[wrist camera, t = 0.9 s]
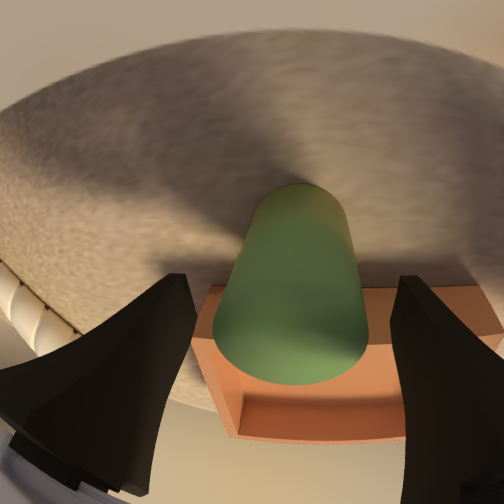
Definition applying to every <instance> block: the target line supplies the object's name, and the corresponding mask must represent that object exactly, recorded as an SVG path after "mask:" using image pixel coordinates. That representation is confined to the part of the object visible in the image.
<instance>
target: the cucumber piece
mask: <svg viewBox="0 0 504 504" xmlns="http://www.w3.org/2000/svg"><path fill="white" fill-rule="evenodd" d="M212 332H213V337H214V340H215V343H216V345H217V347H218V349H219V351H220V352H221V353H222V355H223V356H224V357H225V358H226V359H227V360H228V361H229V362H230V363H231V364H232V365H234V366H235V367H236V368H238V369H239V370H241V371H242V372H244V373H246V374H248V375H250V376H252V377H255V378H257V379H260V380H263V381H266V382H271V383H275V384H281V385H309V384H316V383H320V382H324V381H327V380H330V379H333V378H335V377H337V376H340V375H341V374H343V373H345V372H346V371H348V370H349V369H350V368H352V367H353V366H354V365H355V364H356V363H357V362H358V361H359V360H360V358H361V357H362V356H363V354H364V352H365V351H366V348H367V345H368V341H369V327H368V321H367V315H366V309H365V303H364V297H363V292H362V287H361V281H360V276H359V271H358V266H357V262H356V257H355V252H354V248H353V243H352V239H351V235H350V230H349V226H348V222H347V218H346V215H345V212H344V210H343V208H342V206H341V205H340V203H339V202H338V201H337V200H336V199H335V197H333V196H332V195H331V194H330V193H328V192H327V191H325V190H323V189H321V188H319V187H316V186H313V185H308V184H290V185H286V186H283V187H280V188H278V189H276V190H274V191H272V192H271V193H270V194H268V195H267V196H266V197H265V198H264V199H263V200H262V201H261V203H260V204H259V206H258V208H257V210H256V212H255V215H254V217H253V220H252V222H251V225H250V227H249V230H248V232H247V235H246V237H245V240H244V242H243V245H242V248H241V250H240V253H239V255H238V258H237V260H236V263H235V265H234V268H233V270H232V273H231V275H230V278H229V280H228V283H227V286H226V288H225V291H224V293H223V296H222V298H221V301H220V303H219V306H218V309H217V311H216V314H215V316H214V320H213V325H212Z"/></svg>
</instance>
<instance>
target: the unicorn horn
mask: <svg viewBox="0 0 504 504" xmlns="http://www.w3.org/2000/svg"><path fill="white" fill-rule="evenodd" d="M0 308H1V309H2V311H3V312H4V313H5V315H6V316H7V318H8V319H9V320H10V321H11V322H12V324H13V326H14V327H15V328H16V329H17V331H18V332H19V334H20V335H21V336H22V337H23V339H24V340H25V341H26V342H27V344H28V345H29V346H30V347H31V348H32V349H33V350H34V351H35V353H36V354H37V355H38V357H41V356H43V355H45V354H48V353H50V352H52V351H54V350H56V349H58V348H60V347H62V346H64V345H66V344H68V343H70V342H72V341H74V340H76V339H77V338H79V337H81V336H82V335H80V334H79V333H76V334H75V333H74V332H73V328H72V327H70V326H69V325H68V324H67V323H66V322H64V321H63V320H62V319H61V318H60V317H59V316H57V315H56V314H55V313H54V312H53V311H52V310H51V309H48V310H47V309H46V308H45V304H44V303H43V302H42V301H41V300H40V299H39V298H38V297H36V296H35V295H34V294H33V293H32V292H31V291H30V290H29V289H28V288H27V287H26V286H25V285H23V286H22V285H21V284H20V280H19V279H18V278H17V277H16V276H15V275H14V274H13V273H12V272H11V271H10V270H9V269H8V268H7V267H6V266H5V264H4V263H3V262H1V263H0Z"/></svg>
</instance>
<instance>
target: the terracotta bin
mask: <svg viewBox="0 0 504 504" xmlns="http://www.w3.org/2000/svg"><path fill="white" fill-rule="evenodd" d="M225 288H226V286H211V288H210V290H209V293H208V295H207V297H206V299H205V301H204V304H203V306H202V308H201V310H200V313H199V315H198V318H197V322H196V326H195V330H194V333H193V337H192V340H191V345H192V348H193V350H194V353H195V356H196V358H197V361H198V364H199V366H200V369H201V371H202V374H203V377H204V379H205V382H206V384H207V387H208V389H209V392H210V394H211V396H212V399H213V401H214V404H215V406H216V408H217V411H218V413H219V415H220V418H221V420H222V422H223V425H224V427H225V429H226V431H227V434H228V436H229V437H231V438H238V439H246V440H255V441H266V442H276V443H291V444H322V445H324V444H325V445H327V444H328V445H330V444H333V445H334V444H365V443H379V442H389V441H400V440H406V433H405V411H404V403H403V397H402V392H401V387H400V382H399V377H398V372H397V367H396V363H395V358H394V354H393V349H392V341H391V332H390V323H389V321H390V317H391V313H392V309H393V305H394V301H395V297H396V293H397V289H398V288H362V292H363V297H364V303H365V309H366V315H367V321H368V327H369V341H368V345H367V348H366V351H365V352H364V354H363V356H362V357H361V358H360V360H359V361H358V362H357V363H356V364H355V365H354V366H353V367H352V368H350V369H349V370H348V371H346V372H345V373H343V374H341V375H340V376H337V377H335V378H333V379H330V380H327V381H324V382H320V383H316V384H309V385H281V384H275V383H271V382H266V381H263V380H260V379H257V378H255V377H252V376H250V375H248V374H246V373H244V372H242V371H241V370H239V369H238V368H236V367H235V366H234V365H232V364H231V363H230V362H229V361H228V360H227V359H226V358H225V357H224V356H223V355H222V353H221V352H220V351H219V349H218V347H217V345H216V343H215V340H214V337H213V332H212V325H213V320H214V316H215V314H216V311H217V309H218V306H219V303H220V301H221V298H222V296H223V293H224V291H225ZM429 288H430V289H431V290H432V291H433V292H434V293H435V294H436V295H437V296H438V297H439V298H440V299H441V300H442V301H443V302H444V303H445V305H446V306H447V307H448V308H449V309H450V310H451V311H452V312H453V313H454V314H455V315H456V316H457V317H458V318H459V319H460V320H461V321H462V322H463V323H464V324H465V325H466V326H467V327H468V328H469V329H470V330H471V331H472V332H473V333H474V334H475V335H476V336H477V337H478V338H479V339H481V340H482V341H483V342H484V343H485V344H486V345H487V346H488V347H490V348H491V349H492V350H493V351H494V352H495V350H496V349H497V347H498V345H499V343H500V342H501V340H502V338H503V336H504V329H503V327H502V325H501V323H500V321H499V319H498V317H497V315H496V314H495V312H494V310H493V308H492V306H491V304H490V303H489V301H488V299H487V297H486V296H485V294H484V292H483V291H482V289H481V287H480V286H479V285H478V286H453V287H429Z"/></svg>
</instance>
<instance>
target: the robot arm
mask: <svg viewBox="0 0 504 504" xmlns="http://www.w3.org/2000/svg"><path fill="white" fill-rule="evenodd" d="M197 318H198V316H197V313H196V310H195V306H194V303H193V299H192V296H191V292H190V289H189V285H188V281H187V278H186V274H177V273H170V274H168V275H166V276H165V277H163V278H162V279H161V280H159V281H158V282H157V283H155V284H154V285H153V286H151V287H150V288H149V289H147V290H146V291H145V292H144V293H142V294H141V295H140V296H138V297H137V298H136V299H134V300H133V301H132V302H131V303H129V304H128V305H127V306H125V307H124V308H123V309H121V310H120V311H118V312H117V313H116V314H114V315H113V316H111V317H110V318H109V319H107V320H106V321H105V322H103V323H102V324H100V325H99V326H97V327H96V328H94V329H92V330H91V331H89V332H88V333H86V334H84V335H83V336H81V337H79V338H77V339H76V340H74V341H72V342H70V343H68V344H66V345H64V346H62V347H60V348H58V349H56V350H54V351H52V352H50V353H48V354H45V355H43V356H41V357H38V358H36V359H33V360H30V361H28V362H25V363H22V364H19V365H16V366H12V367H8V368H5V369H1V370H0V417H1V418H2V419H3V420H4V421H5V422H6V423H8V424H9V425H10V426H11V427H12V428H13V429H14V430H16V432H15V434H14V436H13V435H12V434H10V433H9V432H8V431H7V430H5V429H4V428H3V427H2V426H1V425H0V504H129V503H127V502H125V501H122V500H120V499H118V498H115V497H113V496H111V495H109V494H107V492H108V490H109V489H110V490H112V491H114V492H117V493H119V492H120V490H123V491H126V492H128V493H130V494H133V495H136V496H138V497H142V496H145V495H147V494H148V492H149V482H150V474H151V466H152V460H153V455H154V449H155V444H156V439H157V435H158V431H159V427H160V422H161V419H162V415H163V412H164V408H165V404H166V401H167V398H168V396H169V393H170V390H171V388H172V386H173V383H174V381H175V379H176V376H177V374H178V372H179V369H180V367H181V365H182V362H183V360H184V357H185V355H186V353H187V350H188V348H189V346H190V343H191V340H192V337H193V333H194V330H195V326H196V322H197ZM389 323H390V332H391V341H392V349H393V354H394V358H395V363H396V367H397V372H398V377H399V382H400V387H401V392H402V397H403V403H404V411H405V433H406V446H405V469H404V480H403V489H402V496H401V502H400V504H504V359H503V358H501V357H500V356H499V355H498V354H497V353H495V352H494V351H493V350H492V349H491V348H490V347H488V346H487V345H486V344H485V343H484V342H483V341H482V340H481V339H479V338H478V337H477V336H476V335H475V334H474V333H473V332H472V331H471V330H470V329H469V328H468V327H467V326H466V325H465V324H464V323H463V322H462V321H461V320H460V319H459V318H458V317H457V316H456V315H455V314H454V313H453V312H452V311H451V310H450V309H449V308H448V307H447V306H446V305H445V303H444V302H443V301H442V300H441V299H440V298H439V297H438V296H437V295H436V294H435V293H434V292H433V291H432V290H431V289H430V288H429V287H428V286H427V285H426V284H425V283H424V282H423V281H422V280H421V279H420V278H419V277H418V276H400V280H399V284H398V289H397V293H396V297H395V301H394V305H393V309H392V313H391V317H390V321H389Z"/></svg>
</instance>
